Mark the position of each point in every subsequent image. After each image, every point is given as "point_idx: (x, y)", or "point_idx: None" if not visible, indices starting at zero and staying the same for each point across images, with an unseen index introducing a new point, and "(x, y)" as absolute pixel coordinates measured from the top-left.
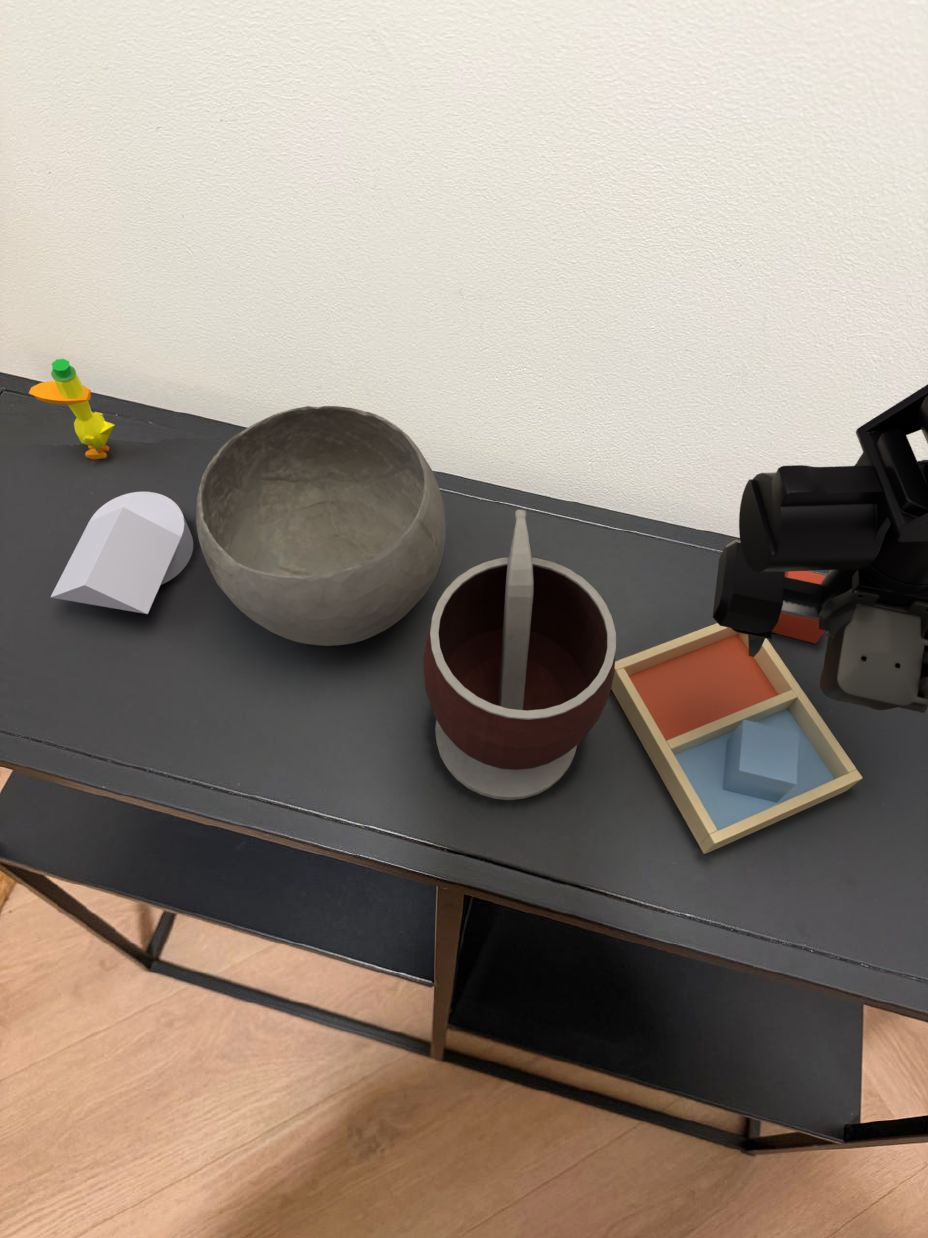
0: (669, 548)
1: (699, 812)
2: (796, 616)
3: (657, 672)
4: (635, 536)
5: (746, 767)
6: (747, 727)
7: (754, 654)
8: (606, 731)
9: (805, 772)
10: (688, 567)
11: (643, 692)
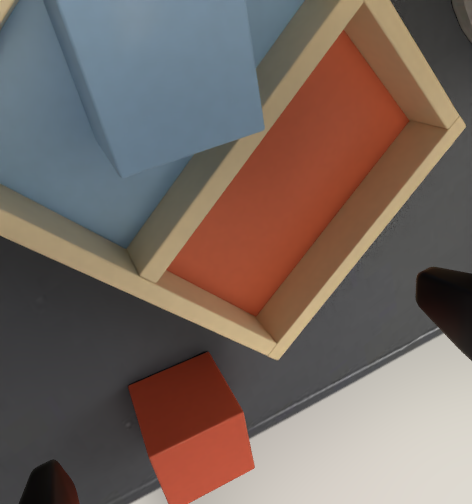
0: (361, 359)
1: None
2: (204, 409)
3: (357, 171)
4: (401, 343)
5: None
6: (252, 111)
7: (444, 278)
8: (403, 8)
9: (18, 128)
10: (335, 354)
11: (371, 119)
